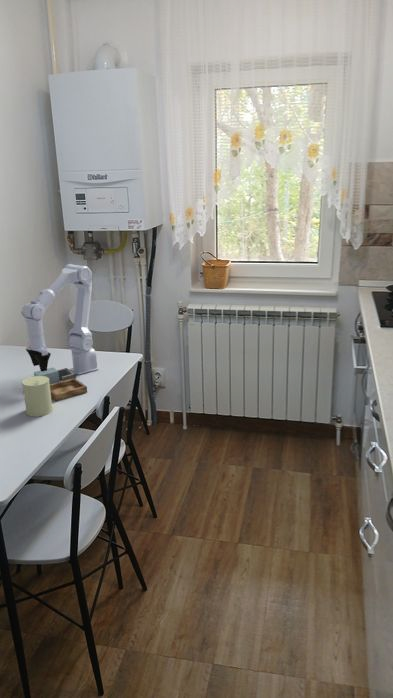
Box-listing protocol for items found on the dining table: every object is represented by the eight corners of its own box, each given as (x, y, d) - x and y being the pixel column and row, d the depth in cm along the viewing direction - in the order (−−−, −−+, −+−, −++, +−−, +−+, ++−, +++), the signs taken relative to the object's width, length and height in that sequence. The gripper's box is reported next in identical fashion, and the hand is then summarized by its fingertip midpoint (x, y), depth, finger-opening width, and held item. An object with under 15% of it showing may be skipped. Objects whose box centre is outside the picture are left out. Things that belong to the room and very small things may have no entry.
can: (28, 418, 187) (24, 386, 183) (23, 408, 194) (19, 377, 190) (55, 412, 191) (52, 381, 187) (49, 403, 198) (45, 372, 194)
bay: (67, 375, 223) (66, 367, 222) (76, 382, 216) (75, 374, 215) (54, 379, 220) (53, 371, 219) (63, 385, 213) (62, 377, 212)
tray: (75, 384, 215) (74, 378, 214) (87, 392, 207) (86, 386, 206) (44, 392, 208) (43, 386, 207) (55, 401, 200) (55, 395, 199)
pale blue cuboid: (54, 381, 218) (53, 367, 216) (59, 385, 214) (58, 371, 212) (35, 386, 214) (33, 372, 212) (40, 390, 210) (38, 375, 208)
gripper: (18, 332, 209) (23, 365, 213) (32, 341, 198) (37, 376, 202) (36, 328, 213) (40, 361, 217) (51, 337, 202) (55, 371, 206)
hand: (40, 368), depth 210 cm, fingers open, 7 cm apart
